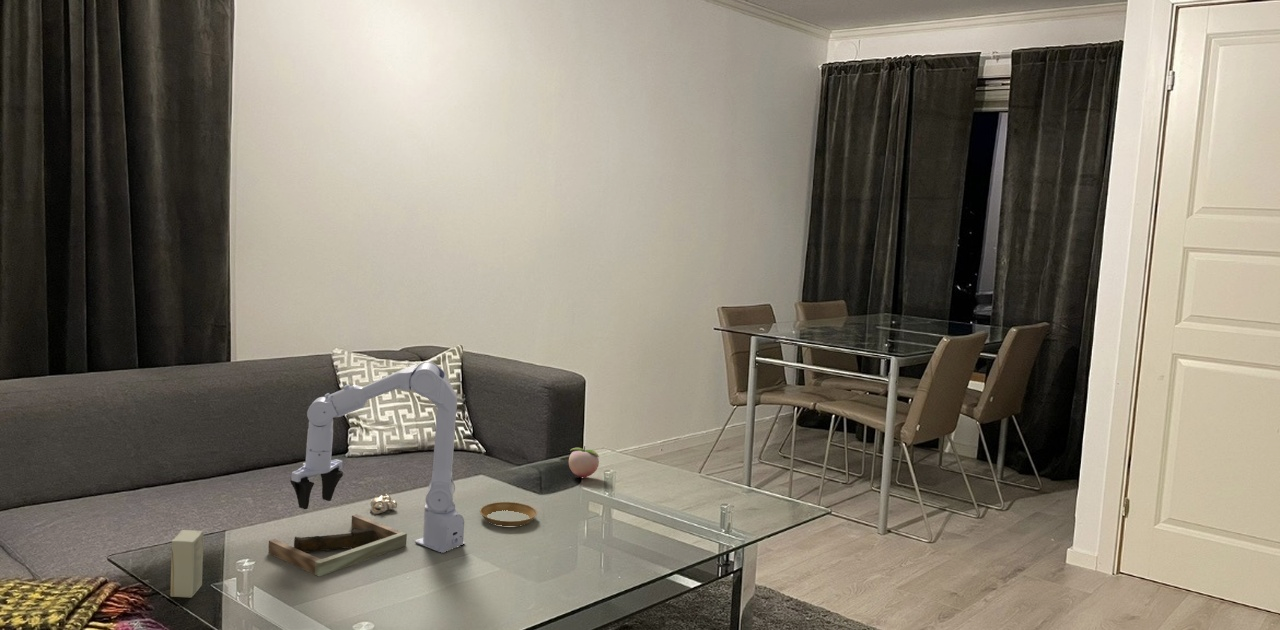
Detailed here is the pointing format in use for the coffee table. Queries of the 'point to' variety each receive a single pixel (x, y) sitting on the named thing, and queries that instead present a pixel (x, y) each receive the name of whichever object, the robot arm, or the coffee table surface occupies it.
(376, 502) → the ornament
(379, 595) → the coffee table surface
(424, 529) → the robot arm
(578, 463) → the decorative fruit
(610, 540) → the coffee table surface
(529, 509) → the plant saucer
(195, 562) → the skincare box
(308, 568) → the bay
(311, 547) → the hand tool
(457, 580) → the coffee table surface
